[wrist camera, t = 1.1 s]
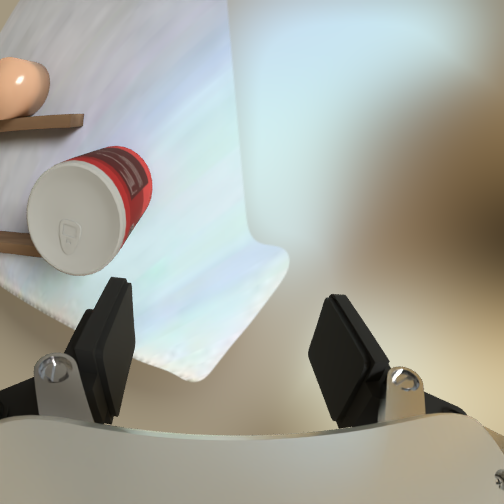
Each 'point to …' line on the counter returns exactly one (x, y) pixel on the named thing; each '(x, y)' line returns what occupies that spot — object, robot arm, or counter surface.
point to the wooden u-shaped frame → (15, 240)
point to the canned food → (88, 208)
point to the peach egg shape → (22, 87)
